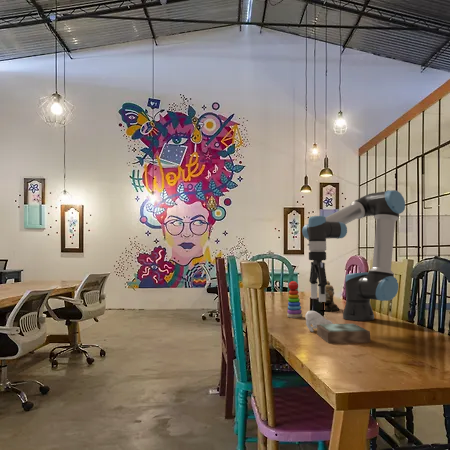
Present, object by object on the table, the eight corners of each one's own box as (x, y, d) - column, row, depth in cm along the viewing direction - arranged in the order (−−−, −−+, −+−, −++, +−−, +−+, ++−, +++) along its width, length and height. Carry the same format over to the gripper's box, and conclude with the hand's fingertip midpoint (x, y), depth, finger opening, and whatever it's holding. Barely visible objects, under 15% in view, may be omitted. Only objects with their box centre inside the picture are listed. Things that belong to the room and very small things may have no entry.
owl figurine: (339, 312, 231) (338, 282, 232) (317, 312, 234) (316, 282, 235) (339, 308, 248) (338, 279, 249) (319, 307, 251) (318, 279, 252)
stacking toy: (301, 315, 220) (300, 280, 221) (303, 318, 212) (302, 281, 213) (286, 315, 221) (286, 280, 222) (287, 318, 213) (286, 281, 214)
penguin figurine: (305, 309, 183) (333, 312, 181) (304, 328, 183) (331, 331, 181) (305, 311, 177) (334, 314, 175) (304, 331, 176) (333, 334, 174)
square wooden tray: (355, 333, 171) (355, 323, 171) (370, 342, 155) (369, 330, 155) (317, 334, 170) (317, 323, 171) (328, 343, 154) (327, 331, 155)
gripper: (302, 251, 193) (303, 297, 192) (316, 251, 168) (316, 303, 167) (318, 251, 193) (319, 297, 192) (334, 251, 168) (335, 303, 167)
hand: (318, 300), depth 179 cm, fingers open, 13 cm apart
